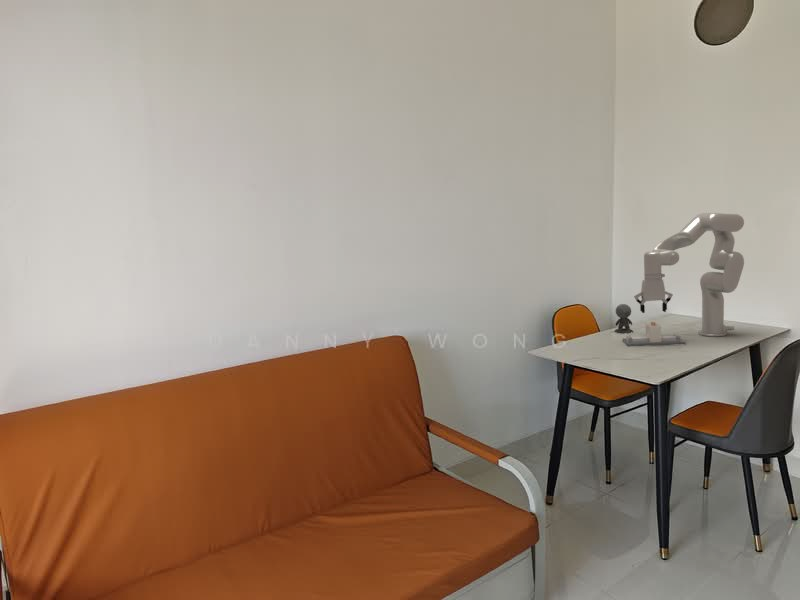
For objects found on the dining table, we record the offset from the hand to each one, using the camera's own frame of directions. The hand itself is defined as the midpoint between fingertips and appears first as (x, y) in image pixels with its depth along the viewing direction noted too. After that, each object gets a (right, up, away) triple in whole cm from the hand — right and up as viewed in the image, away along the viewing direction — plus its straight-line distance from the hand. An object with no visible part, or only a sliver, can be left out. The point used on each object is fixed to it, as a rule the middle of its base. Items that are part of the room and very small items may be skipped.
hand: (653, 311), depth 268 cm
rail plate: (+1, -15, +2) cm, 15 cm away
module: (+1, -14, +2) cm, 14 cm away
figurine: (-2, -12, +29) cm, 32 cm away
